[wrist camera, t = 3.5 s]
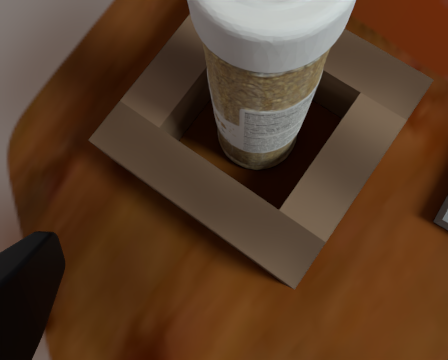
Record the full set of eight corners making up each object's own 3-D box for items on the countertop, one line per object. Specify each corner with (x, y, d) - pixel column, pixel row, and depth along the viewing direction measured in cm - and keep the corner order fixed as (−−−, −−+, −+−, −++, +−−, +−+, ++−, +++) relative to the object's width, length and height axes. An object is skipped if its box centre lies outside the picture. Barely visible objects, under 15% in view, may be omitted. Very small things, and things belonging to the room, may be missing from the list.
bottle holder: (286, 285, 21) (294, 289, 17) (111, 159, 23) (87, 140, 19) (405, 108, 22) (433, 79, 19) (232, 5, 24) (230, -37, 21)
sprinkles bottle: (213, 102, 23) (170, -114, 10) (290, 92, 23) (350, -142, 10) (222, 178, 22) (188, 47, 9) (304, 167, 22) (389, 18, 9)
